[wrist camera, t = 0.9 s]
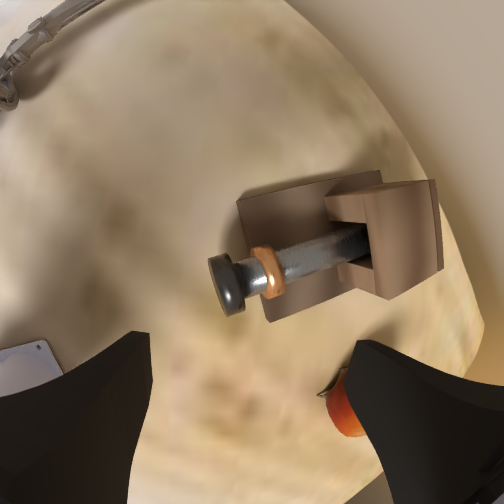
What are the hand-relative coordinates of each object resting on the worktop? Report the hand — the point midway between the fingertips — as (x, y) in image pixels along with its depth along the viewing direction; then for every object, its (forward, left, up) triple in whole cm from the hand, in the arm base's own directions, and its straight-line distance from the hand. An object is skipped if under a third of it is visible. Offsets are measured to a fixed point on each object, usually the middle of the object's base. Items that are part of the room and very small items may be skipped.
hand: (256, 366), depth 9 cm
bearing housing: (+11, 0, -13) cm, 17 cm away
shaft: (+6, 0, -12) cm, 13 cm away
